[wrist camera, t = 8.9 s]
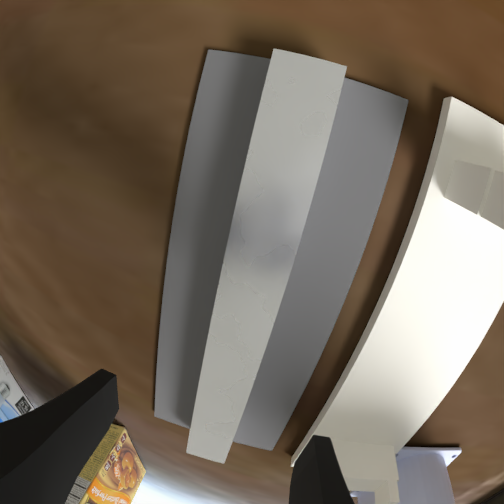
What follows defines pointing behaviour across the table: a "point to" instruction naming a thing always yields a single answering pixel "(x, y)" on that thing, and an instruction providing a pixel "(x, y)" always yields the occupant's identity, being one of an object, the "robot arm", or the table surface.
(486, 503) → the diary
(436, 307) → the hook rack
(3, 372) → the light bulb box
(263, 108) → the rail
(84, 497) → the candy box
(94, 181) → the table surface
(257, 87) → the rubber mat
